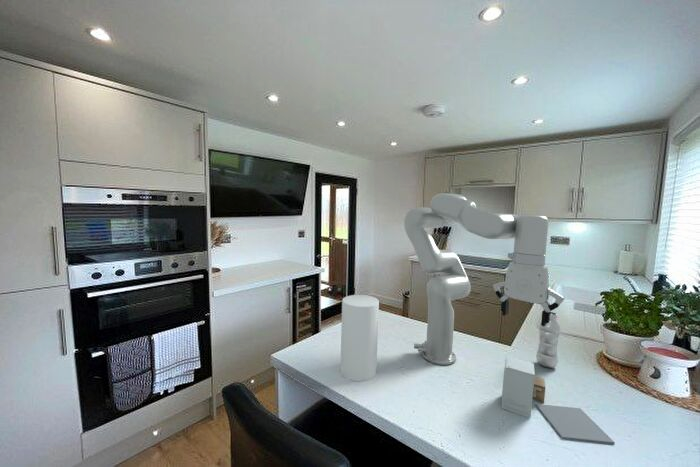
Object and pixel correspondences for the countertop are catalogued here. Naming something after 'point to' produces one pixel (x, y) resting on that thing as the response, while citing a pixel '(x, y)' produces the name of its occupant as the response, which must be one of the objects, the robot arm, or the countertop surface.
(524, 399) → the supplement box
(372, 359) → the cylinder
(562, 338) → the countertop surface
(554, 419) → the mat
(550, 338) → the plastic bottle
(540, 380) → the letter cube
